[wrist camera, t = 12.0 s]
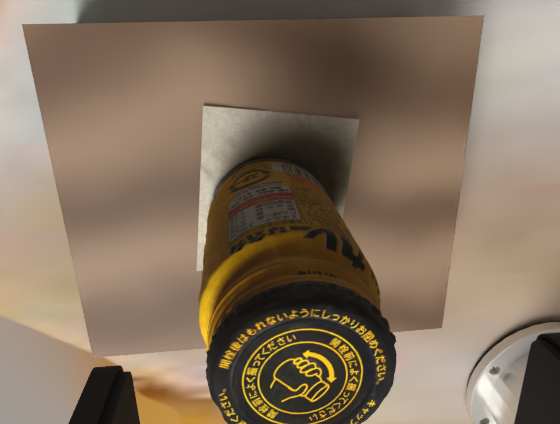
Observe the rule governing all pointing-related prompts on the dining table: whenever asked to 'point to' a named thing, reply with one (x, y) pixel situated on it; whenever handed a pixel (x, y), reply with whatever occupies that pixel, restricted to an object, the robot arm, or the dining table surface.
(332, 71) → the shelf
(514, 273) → the dining table surface
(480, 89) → the dining table surface
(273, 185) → the condiment
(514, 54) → the dining table surface
